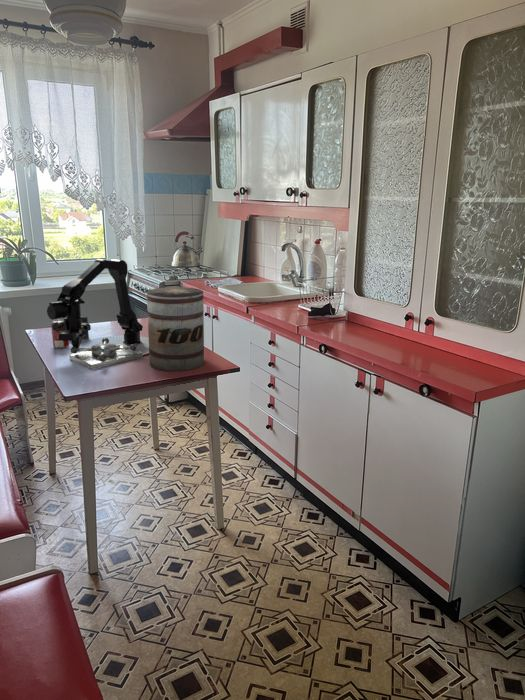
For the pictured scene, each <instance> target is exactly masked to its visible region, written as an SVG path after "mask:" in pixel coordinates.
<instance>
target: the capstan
mask: <svg viewBox="0 0 525 700" xmlns="http://www.w3.org/2000/svg"><path fill="white" fill-rule="evenodd" d="M101 342H102V343H98V344H93V345H92V346H91V347H79V348H76V347H73V346H71V347H70V349H69V352H70V353H71V354H75V353H80V352H84V351H92V355H93V356H95V357H98V359H99V360H100V361H105V359H106V357H109V356H113V355H115V354H116V350H131V351H135V350H137V349H138V348H137V344H135V345H134V344H132V345H129V346H128V345H127V346H126V345H124V347H116V344H114V343H110V339H109V338H107V337H104V338H102V340H101Z"/></svg>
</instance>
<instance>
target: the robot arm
mask: <svg viewBox="0 0 525 700" xmlns="http://www.w3.org/2000/svg"><path fill="white" fill-rule="evenodd" d="M104 270H108V272H109V273H108V274H109V275H110V276H111V278H112V279H113V281H114V286H115V291H116V295H117V300H118V304H119V305H118V306H119V309H120V310H119V313H118V314H116V318H117V323H118V324H119V326H121V329H122V330H124V333H123V344H126V345H127V346H128V345H129V346H130V345H132V344H134V345H139V344H143V341H142V340H141V333H140V332H142V331H143V327H144V326H143V325H142V324H141V323H140V322H139V319H138V318H137V314H136V313H135V311H134V310H133V309H132V306H131V301H130V295H129V289H128V285H127V276H128V274H129V273H128V263H127V261H125V260H123V259H119V258H118V259H117V258H111V259H109V260H108V259H105V258H97V259H95V260H94V262H93V263H92V264H90V266H89V267H88V268H86V270H85V271H83V273H81V274H80V275H79V276H78V277H77V278H75V279H74V280H71V281H69V282H67V283H66V284H64V285H62V288H61V292H60V294H59V296H58V297H57V300H56V301H50V302H49V303H48V304H49V305H48V306H47V309H46V313H47V317H48V318H49V320H52V321H54V320H59V319H63V317H67V318H65V319H64V321H62V322H59V323H58V322H56V323H53V322H52V323H53V326H52V327H53V328H51V330H52V329H53V330H54V331H56V332H58V331H61V330H64V331H63V332H62V333H60V334H59V335H58V340H62V341H69V342H70V343H71V345H72V347H76V348H81V344H82V341H83V340H84V339H83V337H84V335H85V333H82V332H81V330H83V329H86V330H87V331H88V332H89V331H90V330H91V328H92V326H91V324H90V323H89V322H88V323H82V322H81V320H82V319H83V317H82V316H83V315H82V311H81V304H82V305H83V304H86V301H84V300H83V299H82V296H83V295H84V293H85V292H86V289H87V287H88V286H89V285H90V284H91V283H92V282H93V281H94V280H95V279H96V278H97V277H98V276H99V275H100V274H101V273H102V272H103V271H104ZM68 331H69V332H68Z"/></svg>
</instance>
